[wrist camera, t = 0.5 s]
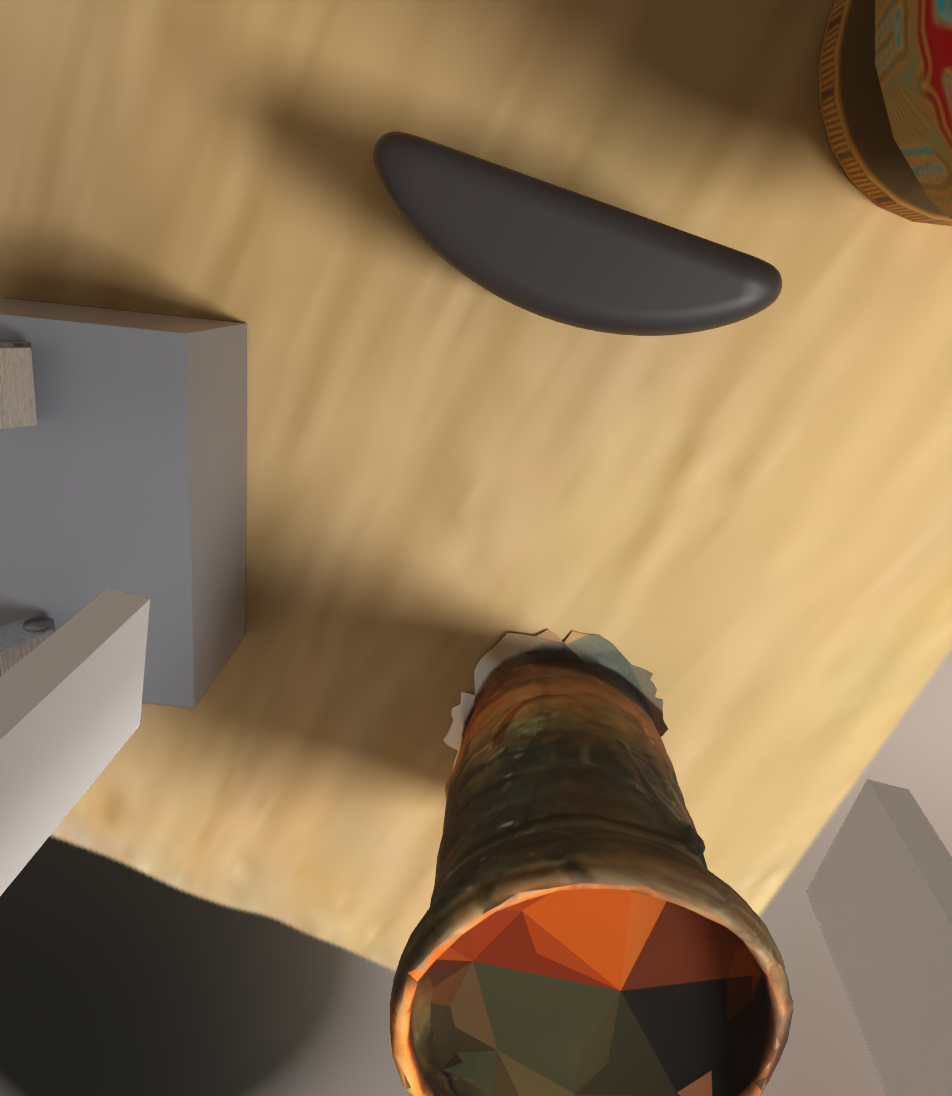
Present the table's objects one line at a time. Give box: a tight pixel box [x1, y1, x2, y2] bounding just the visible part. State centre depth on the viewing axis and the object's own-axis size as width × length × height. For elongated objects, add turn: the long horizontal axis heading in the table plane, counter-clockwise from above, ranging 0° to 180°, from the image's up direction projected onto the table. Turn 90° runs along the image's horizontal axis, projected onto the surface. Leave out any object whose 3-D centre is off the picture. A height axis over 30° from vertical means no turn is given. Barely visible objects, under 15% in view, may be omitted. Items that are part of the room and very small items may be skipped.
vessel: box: [390, 630, 793, 1096], centre depth 37 cm, size 14×14×20 cm
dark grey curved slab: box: [373, 132, 782, 336], centre depth 33 cm, size 16×5×9 cm, turn 72°
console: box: [0, 298, 247, 708], centre depth 38 cm, size 17×13×8 cm
